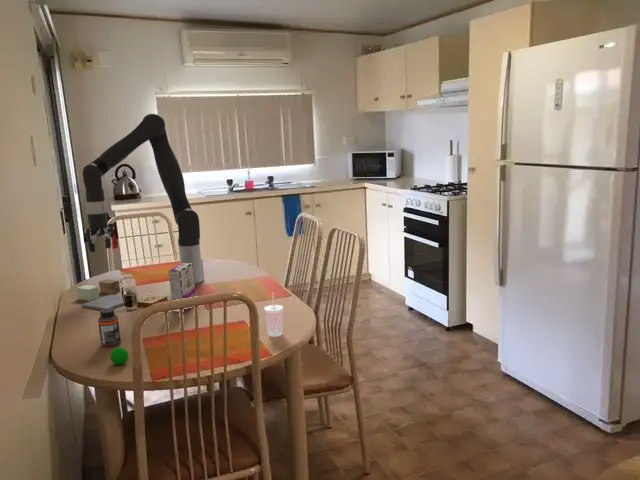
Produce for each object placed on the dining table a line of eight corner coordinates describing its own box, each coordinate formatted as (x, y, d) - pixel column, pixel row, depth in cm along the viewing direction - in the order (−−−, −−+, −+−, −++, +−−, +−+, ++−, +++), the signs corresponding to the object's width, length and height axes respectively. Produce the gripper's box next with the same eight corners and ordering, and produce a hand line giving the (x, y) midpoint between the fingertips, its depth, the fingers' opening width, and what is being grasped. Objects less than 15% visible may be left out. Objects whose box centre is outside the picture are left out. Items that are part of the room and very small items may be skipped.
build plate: (110, 296, 222) (110, 294, 222) (135, 300, 215) (135, 298, 215) (82, 306, 210) (82, 304, 210) (107, 311, 203) (107, 308, 203)
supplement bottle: (104, 340, 173) (100, 307, 171) (123, 339, 174) (119, 306, 171) (98, 348, 167) (94, 313, 165) (117, 346, 168) (113, 312, 166)
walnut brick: (108, 290, 233) (107, 278, 232) (120, 291, 229) (118, 280, 228) (100, 292, 229) (98, 281, 228) (111, 294, 225) (110, 283, 224)
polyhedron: (116, 360, 158) (114, 344, 157) (131, 360, 157) (130, 344, 156) (107, 367, 153) (106, 351, 152) (124, 367, 152) (122, 351, 151)
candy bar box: (185, 303, 209) (181, 262, 206) (197, 303, 208) (193, 262, 205) (171, 312, 199) (167, 270, 195) (184, 313, 198) (180, 270, 194)
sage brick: (88, 296, 224) (86, 284, 223) (99, 298, 221) (98, 286, 220) (78, 299, 220) (77, 287, 219) (90, 301, 217) (88, 289, 216)
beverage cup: (282, 337, 170) (279, 295, 167) (263, 337, 171) (260, 295, 168) (286, 330, 176) (284, 290, 173) (268, 330, 177) (266, 289, 174)
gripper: (89, 214, 214) (94, 254, 217) (116, 210, 226) (119, 247, 230) (76, 214, 217) (80, 252, 220) (103, 209, 229) (106, 246, 233)
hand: (100, 250), depth 225 cm, fingers open, 8 cm apart
